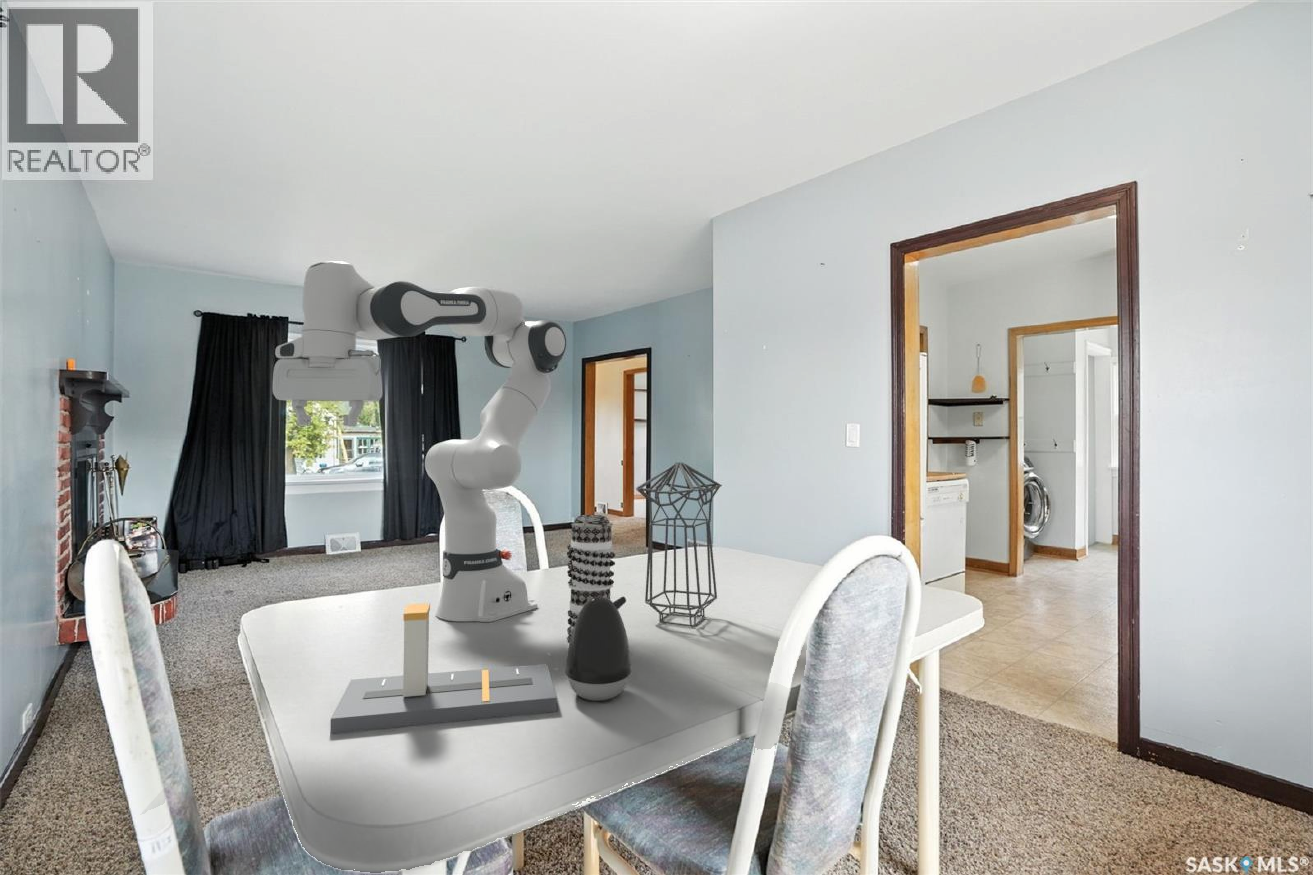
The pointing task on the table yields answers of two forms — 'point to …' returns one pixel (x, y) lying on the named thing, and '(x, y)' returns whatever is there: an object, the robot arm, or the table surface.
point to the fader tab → (416, 649)
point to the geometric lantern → (667, 478)
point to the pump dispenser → (599, 651)
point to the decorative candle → (589, 563)
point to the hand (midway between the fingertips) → (326, 426)
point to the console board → (445, 698)
